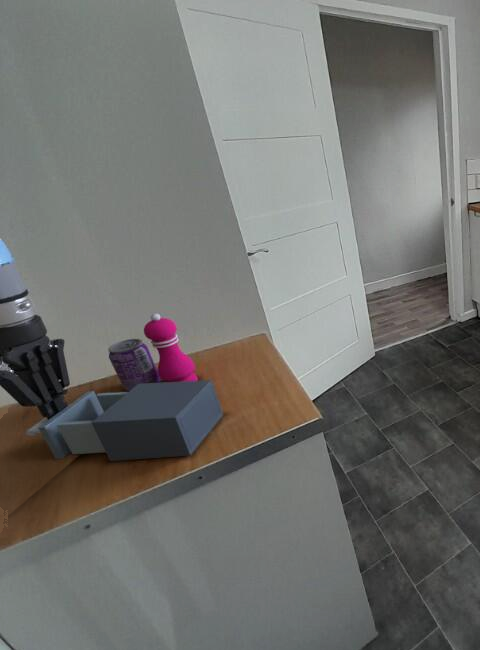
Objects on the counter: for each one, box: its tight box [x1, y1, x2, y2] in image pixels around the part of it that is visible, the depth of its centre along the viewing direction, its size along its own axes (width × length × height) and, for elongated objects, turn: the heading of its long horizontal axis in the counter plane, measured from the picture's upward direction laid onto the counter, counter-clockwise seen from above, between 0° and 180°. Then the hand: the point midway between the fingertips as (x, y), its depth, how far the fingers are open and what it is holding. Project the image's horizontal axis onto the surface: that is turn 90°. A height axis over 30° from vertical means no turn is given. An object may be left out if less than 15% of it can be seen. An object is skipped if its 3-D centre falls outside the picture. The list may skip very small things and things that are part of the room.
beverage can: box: [108, 338, 162, 392], centre depth 100 cm, size 7×7×12 cm
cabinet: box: [91, 379, 224, 462], centre depth 85 cm, size 15×13×10 cm
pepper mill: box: [143, 313, 198, 382], centre depth 100 cm, size 7×7×20 cm
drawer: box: [25, 390, 128, 460], centre depth 83 cm, size 18×11×8 cm, turn 97°
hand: (62, 424), depth 83 cm, fingers closed
